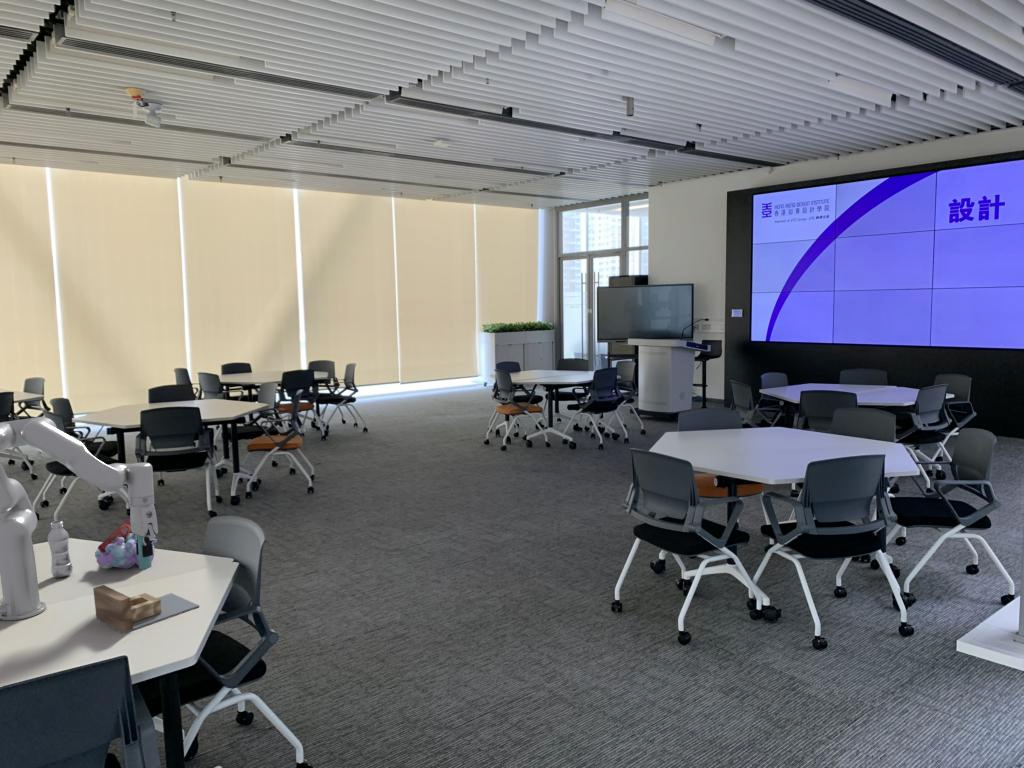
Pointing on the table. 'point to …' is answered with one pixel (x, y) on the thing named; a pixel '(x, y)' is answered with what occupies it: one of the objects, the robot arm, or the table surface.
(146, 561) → the dowel
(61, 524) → the plastic bottle
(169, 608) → the slate base
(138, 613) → the oak block
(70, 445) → the robot arm
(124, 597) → the walnut wall
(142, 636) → the table surface
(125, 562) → the cotton candy cloud
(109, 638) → the table surface
